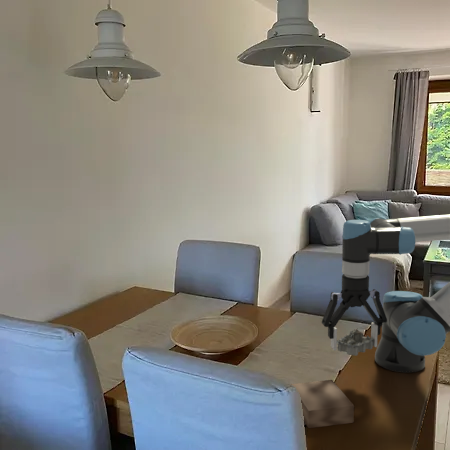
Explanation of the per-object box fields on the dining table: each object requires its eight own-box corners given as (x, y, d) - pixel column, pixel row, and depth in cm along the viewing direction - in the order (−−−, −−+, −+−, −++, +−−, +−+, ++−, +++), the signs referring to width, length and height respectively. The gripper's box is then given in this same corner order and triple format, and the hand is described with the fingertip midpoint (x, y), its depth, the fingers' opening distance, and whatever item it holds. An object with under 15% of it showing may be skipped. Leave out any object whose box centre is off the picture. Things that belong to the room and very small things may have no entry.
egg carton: (357, 340, 154) (357, 327, 153) (377, 348, 147) (377, 335, 147) (332, 349, 148) (332, 335, 147) (352, 357, 141) (352, 343, 141)
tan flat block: (331, 396, 142) (331, 379, 141) (353, 423, 128) (354, 405, 127) (290, 401, 140) (290, 384, 139) (308, 429, 126) (308, 410, 125)
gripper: (389, 268, 149) (387, 338, 153) (310, 273, 146) (310, 344, 150) (401, 275, 142) (398, 348, 145) (318, 280, 139) (318, 355, 142)
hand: (353, 346), depth 148 cm, fingers closed on egg carton, 11 cm apart
